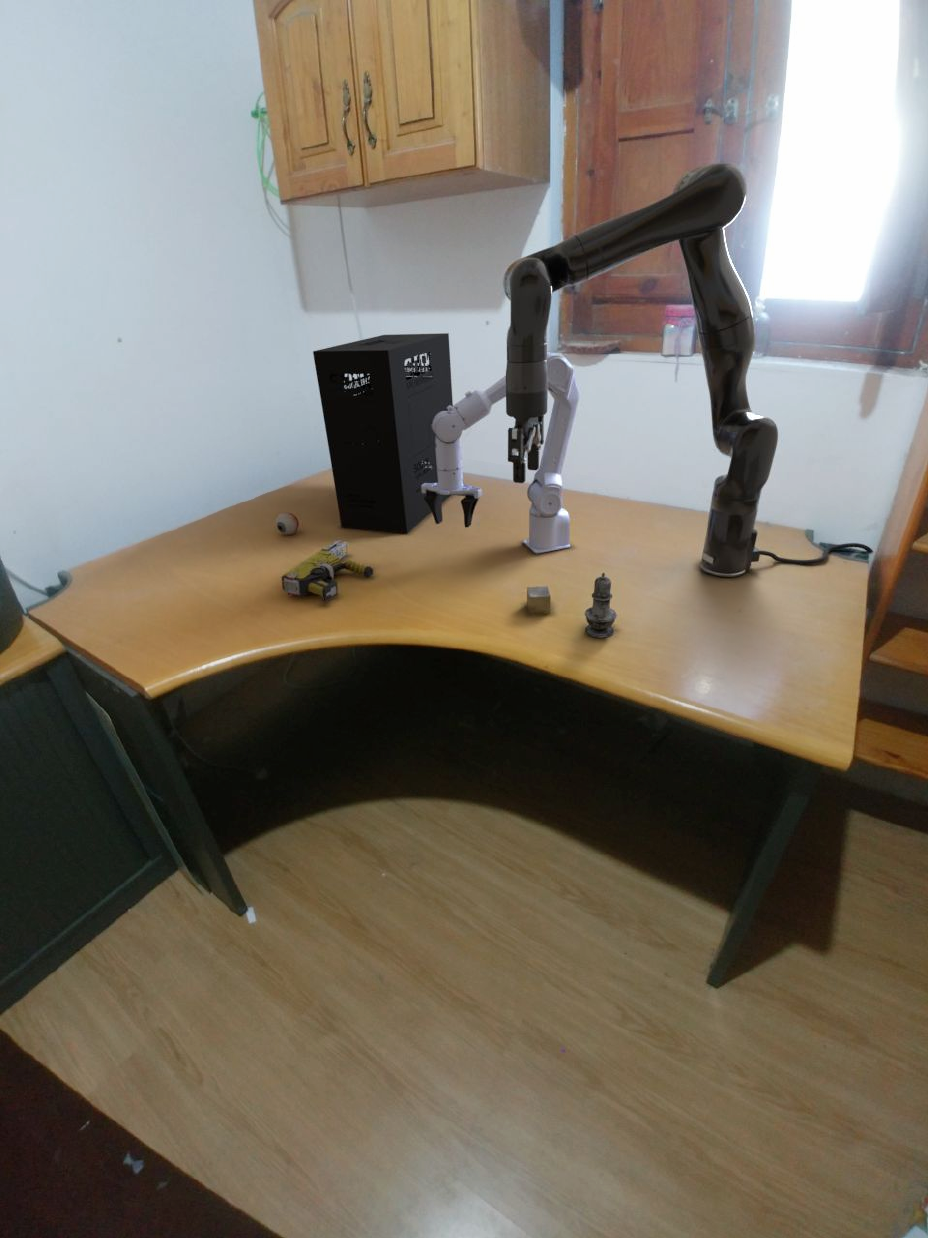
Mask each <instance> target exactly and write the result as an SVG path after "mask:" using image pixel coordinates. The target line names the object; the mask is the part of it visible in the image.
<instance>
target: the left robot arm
mask: <svg viewBox="0 0 928 1238" xmlns="http://www.w3.org/2000/svg"><path fill="white" fill-rule="evenodd" d="M547 369H548V394H550V396H551V397H552V398H553V405H552V409H551V413H550V418H549V422H548V427H547V430H546V431H547V432H546V437H545V439H544V444H543V445H544V446H543V449H542V455H541V459H540V462H539V469H538V470H536V472H535V473H534V476H533V480H532V481H531V483H530V484H529V486H528V487H527V491H526V495H527V499H528V501H530V502H531V503H530V504H531V505H530V507H529V509H528V511H529V512H528V513H529V514H528V539H524V540H523V541H522V543H523V544H524V545H525V546H526V547H527V548H528V549H530V550H531V551H532V552H533V553H534V554H537V555H538V554H542V553H548V552H552V551H558V550H564V549H568V548H571V544H570V535H571V534H570V533H571V532H570V531H571V519H570V514H569V512H568V511H567V509H566V508H563V507H562V506H563V504H564V503H563V502H564V500H563V495H562V491H563V480H562V472H563V467H564V462H565V458H566V455H567V451H568V447H569V442H570V437H571V434H572V430H573V425H574V422H575V417H576V412H577V408H578V404H579V399H580V391H579V388H578V385H577V380H576V377H575V368H574V367H573V365H572V364H571V363H570V362H569V360H568V359H567V358H566V357H565V356H563V355H560V354H555V353H554V352H552V351H549V350H547ZM464 395H465V397H463V398H462V399H460V400H459V401H457V402H456V403H454V404H453V406H451V405H449V406H448V407H447V409H448V411H442V412H439V413H438V414H437V415H436V416H435V417H434V419H433V424H432V429H433V431H434V433H435V434H436V435H437V436H435V438H436V439H435V444H436V448H435V450H436V463H437V475H438V483H424V484H423V485H421V488H422V493H426V496H425V497H424V500H425V502H426V503H427V504H428V506H429V507H430V509H431V511H432V512H431V514H432V517H433V519H434V521H435V524H436V525H439V524H441V523H442V522H443V508H442V507H443V506H442V504H443V503H442V495H451V496H457V497H459V496H460V497H463V498H462V499H461V500H460V504H461V507H462V511H463V522H464V523H463V524H464V528H466V529H467V528H469V527H471V525H472V522H473V515H474V512H475V509H476V506H477V504H478V501H479V499H480V498H482V496H483V494H482V492H483V491H482V490H483V489H482V487H478V486H473V485H469V484H465V483H464V477H463V476H464V475H463V473H464V472H463V458H462V446H461V440H460V438H461V436H462V433H463V431H466V430H468V429H469V428H471V427H472V426H474V425H475V424H477V423H478V422H480V421H481V420H482V419H484V418H485V417H487V416H489V415H490V414H491V410H492V407H493V405H495V404H496V403H499V401H502V400H503V399H504V398H506V375H504V376H503V377H501V378H500V379H499V380H498V381H496V382H495V383H493V384H492V385H491V386H489V387H488V388H487V389H486V390H484V391H481V390H478V389H477V390H474V391H471V390H468V391H467V392H466V393H464Z"/></svg>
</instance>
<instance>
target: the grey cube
mask: <svg viewBox="0 0 928 1238" xmlns="http://www.w3.org/2000/svg"><path fill="white" fill-rule="evenodd" d="M551 598H552V597H551V593H550V590H549V587H548V585H544V586H528V587H526V606H527V610H528V615H529V616H532V615H533V616H535V615H537V616H538V615H550V614H551V602H552V601H551V600H552V599H551Z"/></svg>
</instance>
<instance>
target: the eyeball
mask: <svg viewBox="0 0 928 1238" xmlns="http://www.w3.org/2000/svg"><path fill="white" fill-rule="evenodd" d="M299 525H300V522H299V519H298V517H297V516H296V515H295V514H294V513H292V512H287V511H286V512H282V513H280V514H279V515H278V516H277V517H276V520H275V527H276V529H277V530H278V531H279V532H280V533H281V534H282V535H285V536H286V535H287V536H289V535H293V534H295V533H296V532H297V531H298V529H299Z"/></svg>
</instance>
